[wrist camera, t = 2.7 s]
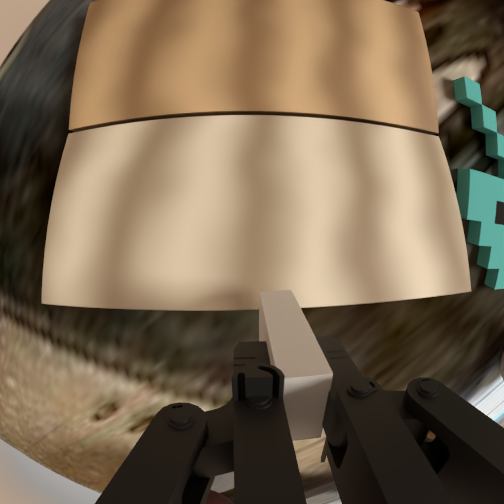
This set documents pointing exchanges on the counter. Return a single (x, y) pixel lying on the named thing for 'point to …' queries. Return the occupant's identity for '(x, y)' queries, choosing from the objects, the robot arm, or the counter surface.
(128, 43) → the oak board
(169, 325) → the counter surface
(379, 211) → the ash plank
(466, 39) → the counter surface
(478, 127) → the alien figure
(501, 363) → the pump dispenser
